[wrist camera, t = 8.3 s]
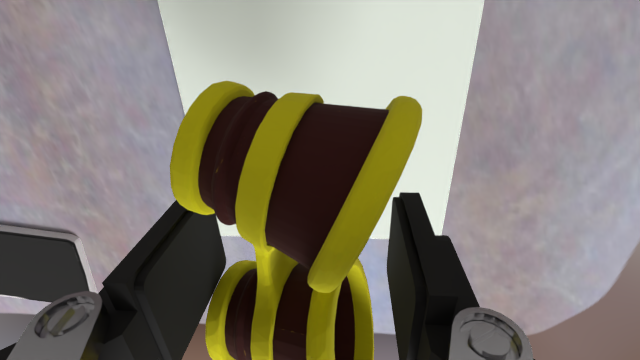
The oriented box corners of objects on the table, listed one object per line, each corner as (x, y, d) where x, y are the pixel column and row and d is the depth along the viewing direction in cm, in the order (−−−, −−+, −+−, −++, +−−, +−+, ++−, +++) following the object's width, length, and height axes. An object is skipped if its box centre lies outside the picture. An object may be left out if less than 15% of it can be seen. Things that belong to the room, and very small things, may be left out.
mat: (217, 230, 24) (214, 235, 23) (157, -25, 16) (151, -26, 16) (438, 234, 22) (440, 240, 22) (486, -41, 15) (492, -42, 14)
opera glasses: (244, 62, 10) (105, 105, 5) (424, 78, 8) (426, 148, 4) (261, 289, 14) (194, 407, 10) (379, 320, 13) (358, 467, 9)
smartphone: (97, 309, 28) (-71, 288, 28) (105, 298, 29) (-56, 278, 29) (72, 238, 24) (-123, 214, 24) (83, 229, 25) (-103, 205, 25)
